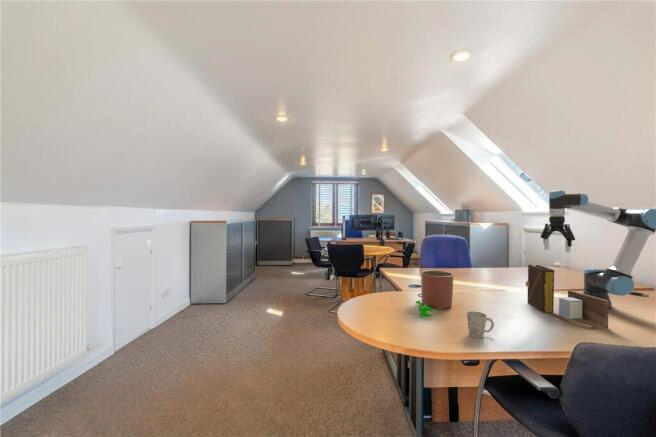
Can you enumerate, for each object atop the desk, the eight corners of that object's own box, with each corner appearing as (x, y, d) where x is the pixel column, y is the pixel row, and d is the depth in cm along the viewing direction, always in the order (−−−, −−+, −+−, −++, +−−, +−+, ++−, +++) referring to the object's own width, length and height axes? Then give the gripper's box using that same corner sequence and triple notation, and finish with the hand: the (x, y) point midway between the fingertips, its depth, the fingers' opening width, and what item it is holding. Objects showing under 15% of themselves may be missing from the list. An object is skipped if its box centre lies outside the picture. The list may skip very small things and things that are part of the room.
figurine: (410, 313, 164) (413, 297, 164) (430, 316, 166) (433, 300, 166) (415, 317, 158) (418, 300, 158) (435, 320, 159) (438, 304, 160)
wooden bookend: (570, 314, 167) (571, 290, 167) (608, 328, 147) (608, 300, 147) (551, 315, 166) (552, 290, 166) (587, 329, 146) (587, 301, 146)
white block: (571, 315, 163) (571, 297, 163) (582, 319, 157) (583, 300, 157) (558, 315, 162) (559, 297, 162) (569, 319, 156) (569, 300, 156)
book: (557, 313, 169) (558, 270, 168) (540, 312, 170) (541, 270, 170) (537, 302, 190) (538, 264, 190) (523, 301, 192) (524, 263, 192)
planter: (459, 306, 180) (459, 274, 180) (440, 311, 170) (441, 277, 169) (432, 298, 196) (433, 269, 196) (414, 303, 185) (414, 272, 185)
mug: (462, 332, 140) (463, 311, 140) (487, 331, 142) (487, 311, 141) (472, 339, 132) (473, 317, 132) (499, 338, 133) (499, 317, 133)
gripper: (533, 216, 189) (533, 248, 189) (572, 216, 165) (572, 253, 165) (543, 215, 191) (543, 248, 191) (583, 216, 166) (583, 253, 166)
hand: (556, 250), depth 178 cm, fingers open, 13 cm apart
